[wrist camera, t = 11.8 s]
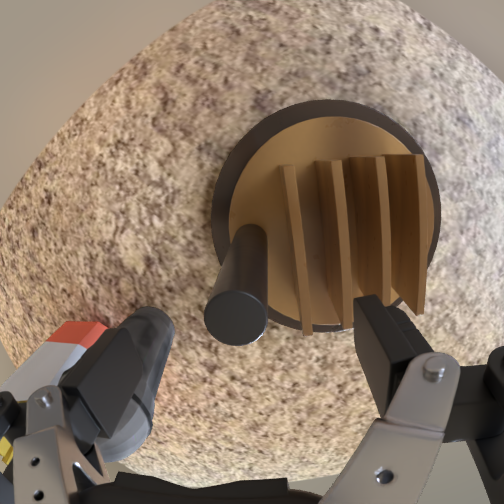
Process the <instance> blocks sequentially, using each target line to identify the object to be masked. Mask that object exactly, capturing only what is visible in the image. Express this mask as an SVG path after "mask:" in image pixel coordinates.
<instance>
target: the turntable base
mask: <svg viewBox="0 0 504 504" xmlns="http://www.w3.org/2000/svg"><path fill="white" fill-rule="evenodd" d="M337 116H341V117H348V118H355V119H359V120H362V121H366V122H369V123H371V124H373V125H376V126H378V127H380V128H382V129H383V130H385V131H387V132H388V133H390V134H391V135H393V136H394V137H395V138H397V139H398V140H399V141H400V142H401V143H402V144H404V146H405V147H406V148H407V149H408V150H409V151H410V152H411V153H412V154H423V155H424V165H425V176H426V179H427V182H428V185H429V187H430V191H431V195H432V200H433V208H434V230H433V236H432V242H431V245H430V249H429V252H428V255H427V269H428V267H429V265H430V263H431V261H432V258H433V255H434V252H435V250H436V247H437V242H438V238H439V233H440V225H441V202H440V195H439V189H438V185H437V182H436V178H435V175H434V172H433V170H432V168H431V165H430V163H429V161H428V159H427V157H426V156H425V154H424V152H423V151H422V149H421V148H420V146H419V145H418V144H417V142H416V141H415V140H414V139H413V137H412V136H411V135H410V134H409V133H408V132H407V131H406V130H405V129H404V128H403V127H402V126H400V125H399V124H398V123H396V122H395V121H394V120H392V119H391V118H389V117H388V116H386V115H384V114H383V113H381V112H379V111H377V110H375V109H373V108H370V107H367V106H365V105H362V104H359V103H354V102H349V101H344V100H331V99H325V100H313V101H307V102H303V103H299V104H295V105H292V106H289V107H287V108H284V109H282V110H279V111H277V112H276V113H274V114H272V115H270V116H268V117H267V118H265V119H264V120H262V121H261V122H260V123H258V124H257V125H256V126H254V127H253V128H252V129H251V130H250V131H249V132H248V133H247V134H246V135H245V136H244V137H243V138H242V139H241V140H240V141H239V142H238V144H237V145H236V146H235V148H234V149H233V151H232V152H231V153H230V155H229V157H228V158H227V160H226V162H225V164H224V166H223V168H222V170H221V172H220V175H219V178H218V180H217V183H216V187H215V191H214V196H213V200H212V211H211V227H212V236H213V242H214V247H215V251H216V254H217V256H218V259H219V262H220V265H221V267H222V265H223V262H224V260H225V257H226V255H227V252H228V250H229V247H230V245H231V243H230V235H229V212H230V206H231V200H232V196H233V193H234V190H235V186H236V184H237V182H238V180H239V177H240V175H241V173H242V171H243V170H244V168H245V167H246V165H247V163H248V162H249V160H250V159H251V158H252V157H253V155H254V154H255V153H256V152H257V151H258V150H259V148H260V147H261V146H263V145H264V144H265V143H266V142H267V141H268V140H269V139H271V138H272V137H273V136H275V135H276V134H278V133H279V132H281V131H282V130H284V129H286V128H288V127H290V126H292V125H295V124H297V123H300V122H303V121H306V120H309V119H314V118H320V117H337ZM402 301H403V300H402V298H401V297H399V298H398V299H396V300H395V301H394V302H393V303H392V304H390V306H391V305H393V306H395V307H397V306H398V305H399V304H400V303H401V302H402ZM268 318H269V319H271V320H273V321H275V322H277V323H279V324H282V325H285V326H288V327H291V328H294V329H298V330H302V327H301V322H300V321H299V320H295V319H293V318H291V317H288V316H286V315H284V314H282V313H280V312H278V311H277V310H275V309H273V308H272V307H271V306H269V305H268ZM352 327H353V328H354V322H352ZM353 328H352V329H353ZM312 330H313V332H321V333H323V332H338V331H344V330H343V328H342V325H341V324H338V325H318V324H312ZM348 330H350V329H348Z"/></svg>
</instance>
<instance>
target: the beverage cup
mask: <svg viewBox="0 0 504 504" xmlns="http://www.w3.org/2000/svg"><path fill="white" fill-rule="evenodd" d="M123 327H124V328H126V329H128V331H129V332H130V335H131V337H132V340H133V342H134V345H135V347H136V349H137V352H138V354H139V356H140V359H141V361H142V365H143V376H142V378H141V380H140V382H139V384H138V386H137V388H136V390H135V392H134V394H133V396H132V398H131V400H130V402H129V404H128V406H127V408H126V410H125V412H124V414H123V416H122V418H121V420H120V422H119V424H118V426H117V428H116V430H115V432H114V434H113V436H112V438H111V439H106V438H100V437H97V438H96V440H95V442H96V443H97V445H98V446H99V448H100V452H101V455H102V458H103V461H104V463H105V462H114V461H119V460H122V459H124V458H126V457H128V456H130V455H131V454H132V453H134V452H135V451H136V450H137V449H138V448H139V447H140V446H141V445H142V444H143V442H144V441H145V439H146V438H147V437H148V436H149V435H150V433H151V430H152V426H153V423H152V419H153V414H154V407H155V403H154V400H155V397H156V393H157V390H158V387H159V384H160V380H161V377H162V374H163V371H164V367H165V364H166V361H167V358H168V355H169V352H170V349H171V345H172V340H173V337H174V334H175V331H174V325H173V323H172V321H171V319H170V318H169V317H168V315H167V314H165V313H164V312H163V311H161V310H159V309H157V308H154V307H142V308H140V309H138V310H136V311H135V312H134V313H133V314H132V315H131V316H129V317H128V318H127V319H125V320H124V321H123V322H122V323H121V324H120V325H119V326H118V327H117V328H123ZM73 366H74V365H73ZM73 366H72V367H73ZM72 367H71V368H72ZM71 368H69V369H67V370H65V371H64V372H63V374H62V376H61V378H60V380H59V382H58V385H59V383H60V382H61V381H62V380H63V378H64V377H65V376H66V374H67V373H68V372H69V371H70V369H71ZM58 385H57V386H58Z"/></svg>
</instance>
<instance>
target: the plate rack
mask: <svg viewBox="0 0 504 504" xmlns="http://www.w3.org/2000/svg"><path fill="white" fill-rule="evenodd" d="M433 230H434V208H433V200H432V195H431V191H430V187H429V185H428V182H427V179H426V176H425V165H424V155H423V154H412V153H411V152H410V151H409V150H408V149H407V148H406V147H405V146H404V144H402V143H401V142H400V141H399V140H398V139H397V138H395V137H394V136H393V135H391V134H390V133H388V132H387V131H385V130H383V129H382V128H380V127H378V126H376V125H373V124H371V123H369V122H366V121H362V120H359V119H355V118H348V117H341V116H337V117H320V118H314V119H309V120H306V121H303V122H300V123H297V124H295V125H292V126H290V127H288V128H286V129H284V130H282V131H281V132H279V133H278V134H276V135H275V136H273V137H272V138H271V139H269V140H268V141H267V142H266V143H265V144H264V145H263V146H261V147H260V148H259V150H258V151H257V152H256V153H255V154H254V155H253V157H252V158H251V159H250V160H249V162H248V163H247V165H246V167H245V168H244V170H243V171H242V173H241V175H240V177H239V180H238V182H237V184H236V186H235V190H234V193H233V196H232V200H231V206H230V212H229V235H230V243H231V245H230V247H229V250H228V252H227V255H226V257H225V260H224V262H223V265H222V267H221V270H220V272H219V274H218V277H217V279H216V282H215V284H214V287H213V289H212V292H211V294H210V297H209V299H208V302H207V304H206V307H205V310H204V322H205V325H206V327H207V329H208V331H209V333H210V334H211V335H212V336H213V337H214V338H215V339H217V340H218V341H220V342H222V343H224V344H227V345H232V346H243V345H247V344H250V343H253V342H254V341H256V340H257V339H259V338H260V337H261V336H262V334H263V333H264V332H265V330H266V327H267V324H268V305H269V306H271V307H272V308H273V309H275V310H277V311H278V312H280V313H282V314H284V315H286V316H288V317H291V318H293V319H295V320H299V321H300V322H301V327H302V333H303V336H310V335H313V330H312V324H318V325H338V324H341V325H342V328H343V330H348V329H352V328H353V327H352V322H354V317H353V299H354V298H357V297H362V296H367V295H372V294H376V295H377V296H378V298H379V299H380V300H381V302H382V303H383V305H384V306H385V307H386V306H390V304H392V303H393V302H394V301H395V300H396V299H398V298H399V297H401V298H402V300H403V301H404V302H405V303H406V304H407V305H408V307H409V308H410V309H411V310H412V311H413V313H414V314H415V315H416V316H418V315H423V314H424V305H425V293H426V277H427V255H428V252H429V249H430V245H431V242H432V236H433Z"/></svg>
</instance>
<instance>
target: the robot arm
mask: <svg viewBox="0 0 504 504" xmlns="http://www.w3.org/2000/svg"><path fill="white" fill-rule="evenodd" d="M353 317H354V342H355V349H356V353H357V356H358V358H359V361H360V364H361V366H362V369H363V371H364V374H365V376H366V379H367V382H368V384H369V387H370V389H371V392H372V395H373V398H374V400H375V403H376V406H377V408H378V411H379V414H380V417H381V418H376V419H375V420H374V422H373V423H372V425H371V426H370V428H369V430H368V431H367V433H366V435H365V436H364V438H363V439H362V441H361V443H360V444H359V446H358V448H357V449H356V451H355V452H354V454H353V455H352V457H351V458H350V460H349V461H348V463H347V464H346V466H345V467H344V469H343V470H342V472H341V473H340V475H339V476H338V477H337V479H336V480H335V482H334V483H333V484H332V486H331V487H330V488H329V490H328V491H327V492H326V494H325V495H324V496H321V495H318V494H314V493H311V492H307V491H302V490H295V489H290V488H289V484H288V480H287V478H277V479H263V480H240V481H236V482H231V483H226V484H221V485H216V486H210V487H204V488H198V489H191V488H187V487H183V486H180V485H177V484H174V483H171V482H168V481H165V480H162V479H159V478H156V477H154V476H146V475H138V474H131V473H125V472H118V474H117V476H116V478H115V481H114V482H111V481H110V478H109V476H108V473H107V470H106V467H105V464H104V461H103V458H102V455H101V452H100V448H99V446H98V445H97V443H96V442H95V440H96V438H97V437H100V438H106V439H111V438H112V436H113V434H114V432H115V430H116V428H117V426H118V424H119V422H120V420H121V418H122V416H123V414H124V412H125V410H126V408H127V406H128V404H129V402H130V400H131V398H132V396H133V394H134V392H135V390H136V388H137V386H138V384H139V382H140V380H141V378H142V376H143V365H142V361H141V359H140V356H139V354H138V352H137V349H136V347H135V345H134V342H133V340H132V337H131V335H130V332H129V331H128V329H126V328H124V327H123V328H109V329H106V330H105V331H104V332H103V333H102V335H101V336H100V337H99V338H98V339H97V341H96V342H95V343H94V344H93V345H92V346H91V347H89V348H88V349H87V350H86V351H85V352H84V353H83V355H82V356H81V359H79V360H78V361H77V362H76V363H75V365H74V366H73V367H72V368H71V369H70V371H69V372H68V373H67V374H66V376H65V377H64V378H63V380H62V381H61V382H60V383H59V385H58V386H55V385H47V386H44V387H41V388H39V389H37V390H36V391H35V392H33V393H32V394H31V396H30V397H29V398H28V401H27V402H23V403H17V401H16V400H15V398H14V396H13V395H12V393H11V392H9V391H2V392H0V441H1V439H2V438H3V436H4V437H5V438H6V439H7V441H8V442H9V443H10V444H11V446H12V447H13V457H12V459H11V461H10V462H9V464H8V466H7V467H6V469H5V471H4V473H3V474H2V473H1V472H0V504H417V502H418V500H419V498H420V496H421V494H422V492H423V489H424V487H425V485H426V482H427V480H428V478H429V475H430V473H431V471H432V468H433V466H434V463H435V460H436V458H437V455H438V452H439V449H440V447H441V444H442V443H448V442H458V441H466V443H467V445H468V447H469V450H470V452H471V454H472V456H473V459H474V461H475V464H476V466H477V468H478V471H479V473H480V476H481V479H482V481H483V484H484V487H485V489H486V492H487V495H488V497H489V500H490V503H491V504H504V346H501V347H498V348H496V349H495V350H493V351H492V352H491V354H490V355H489V358H488V362H487V364H485V365H475V366H460V365H459V363H458V362H457V360H456V359H454V358H453V357H452V356H450V355H448V354H445V353H440V352H434V351H433V349H432V348H431V346H430V345H429V344H428V342H427V341H426V340H425V338H424V337H423V336H422V334H421V333H420V332H419V330H418V329H416V326H415V325H414V324H413V322H411V320H410V318H409V317H408V316H407V315H406V313H405V312H404V311H403V310H401V309H399V308H397V307H395V306H393V305H391V306H386V307H385V306H384V305H383V303H382V302H381V300H380V299H379V298H378V296H377V295H376V294H372V295H367V296H362V297H357V298H354V299H353Z"/></svg>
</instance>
